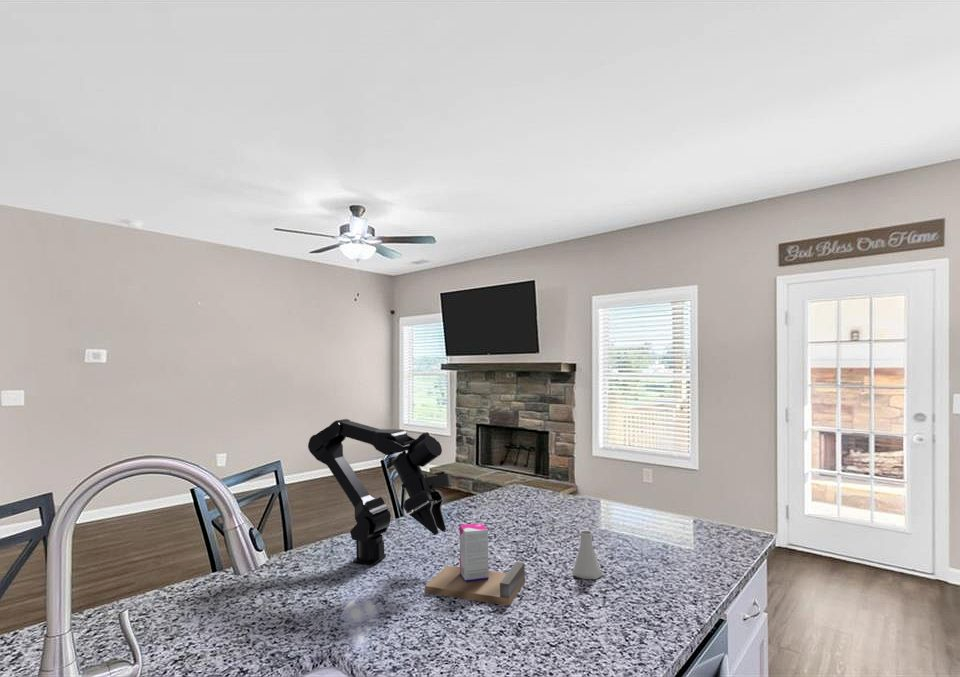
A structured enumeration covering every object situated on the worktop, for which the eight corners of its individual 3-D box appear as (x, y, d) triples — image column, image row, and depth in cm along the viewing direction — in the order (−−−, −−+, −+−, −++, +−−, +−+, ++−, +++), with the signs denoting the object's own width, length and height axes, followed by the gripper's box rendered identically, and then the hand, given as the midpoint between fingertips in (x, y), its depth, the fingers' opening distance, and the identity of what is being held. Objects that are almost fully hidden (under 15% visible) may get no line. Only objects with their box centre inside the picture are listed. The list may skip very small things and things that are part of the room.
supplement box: (489, 579, 119) (488, 529, 120) (464, 583, 118) (463, 532, 118) (483, 569, 125) (481, 521, 125) (459, 573, 123) (458, 524, 124)
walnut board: (424, 592, 117) (424, 572, 117) (447, 571, 128) (446, 553, 128) (509, 605, 110) (508, 584, 110) (525, 582, 121) (524, 562, 121)
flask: (605, 570, 126) (604, 529, 127) (599, 582, 120) (597, 538, 120) (576, 566, 129) (575, 525, 130) (568, 577, 123) (567, 535, 123)
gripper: (430, 457, 122) (463, 517, 118) (445, 460, 140) (474, 513, 136) (390, 481, 122) (420, 543, 117) (410, 482, 140) (437, 535, 135)
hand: (440, 532), depth 126 cm, fingers open, 9 cm apart
